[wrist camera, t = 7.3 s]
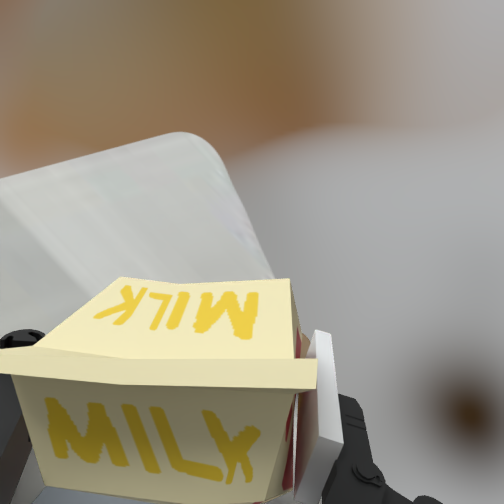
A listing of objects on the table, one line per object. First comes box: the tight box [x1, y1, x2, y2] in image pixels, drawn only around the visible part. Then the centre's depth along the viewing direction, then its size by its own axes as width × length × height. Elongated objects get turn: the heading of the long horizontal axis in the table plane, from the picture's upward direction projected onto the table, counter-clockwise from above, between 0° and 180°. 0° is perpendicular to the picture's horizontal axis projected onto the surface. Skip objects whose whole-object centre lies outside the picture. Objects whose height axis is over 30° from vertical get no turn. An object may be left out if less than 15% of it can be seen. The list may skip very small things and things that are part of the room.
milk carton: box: [0, 277, 318, 504], centre depth 15 cm, size 9×9×20 cm
